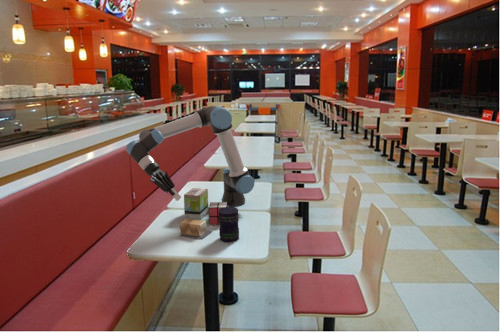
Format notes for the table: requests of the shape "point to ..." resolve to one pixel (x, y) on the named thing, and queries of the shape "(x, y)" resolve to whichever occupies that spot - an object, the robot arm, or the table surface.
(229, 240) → the storage jar
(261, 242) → the table surface
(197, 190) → the tea box
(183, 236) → the mat
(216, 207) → the puzzle cube
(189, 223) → the oak block
